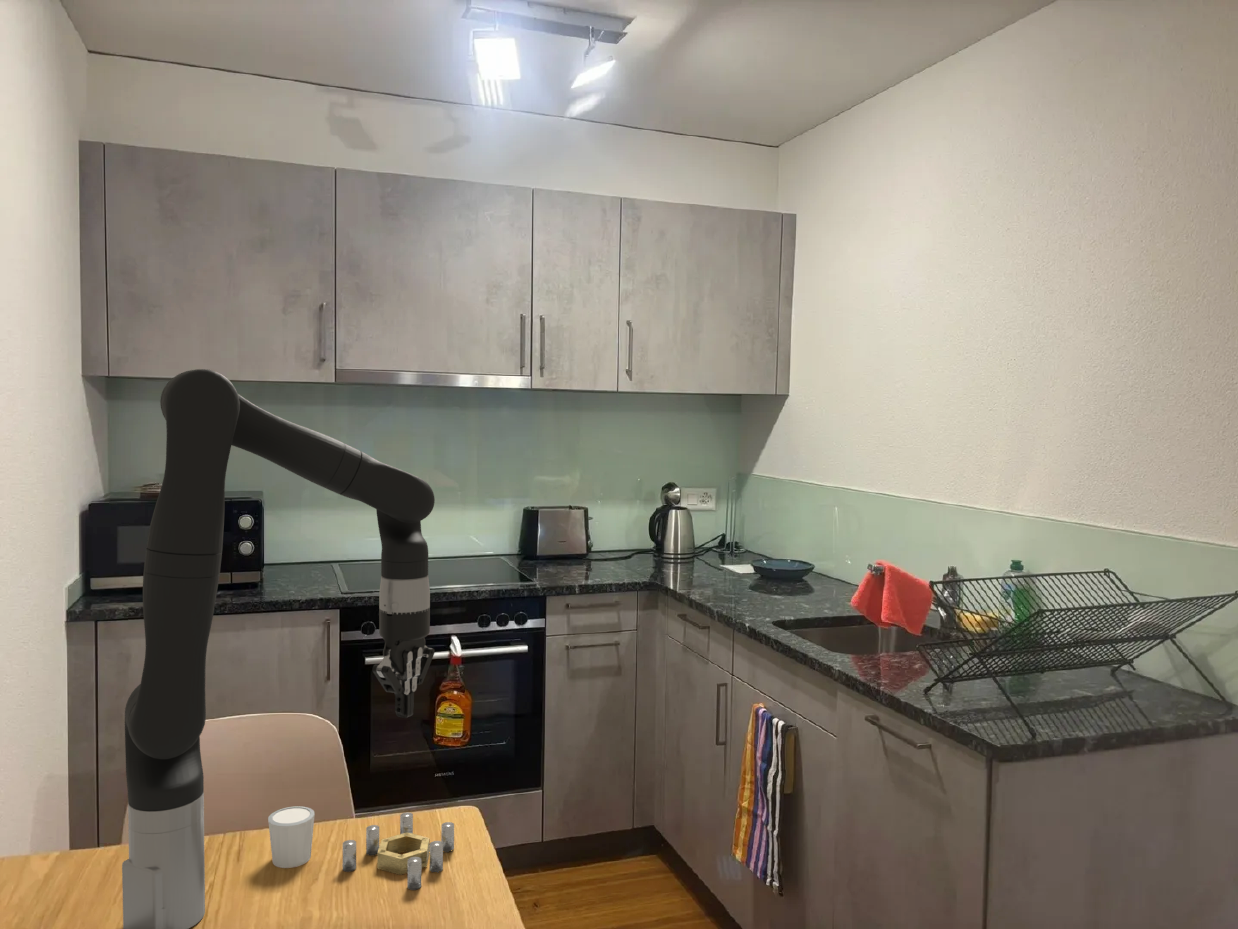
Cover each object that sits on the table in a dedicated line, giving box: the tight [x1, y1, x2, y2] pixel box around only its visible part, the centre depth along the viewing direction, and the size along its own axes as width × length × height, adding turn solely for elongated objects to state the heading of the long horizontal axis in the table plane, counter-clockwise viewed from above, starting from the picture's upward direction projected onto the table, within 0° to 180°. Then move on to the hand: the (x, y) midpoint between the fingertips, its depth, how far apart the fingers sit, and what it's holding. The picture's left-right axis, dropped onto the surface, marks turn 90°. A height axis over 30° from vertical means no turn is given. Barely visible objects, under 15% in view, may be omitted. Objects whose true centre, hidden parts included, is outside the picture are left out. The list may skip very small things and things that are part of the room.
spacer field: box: [342, 811, 455, 891], centre depth 142 cm, size 14×14×4 cm
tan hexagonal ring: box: [376, 832, 431, 876], centre depth 142 cm, size 7×9×2 cm
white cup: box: [267, 805, 316, 869], centre depth 142 cm, size 7×7×7 cm
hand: (404, 716), depth 141 cm, fingers closed
